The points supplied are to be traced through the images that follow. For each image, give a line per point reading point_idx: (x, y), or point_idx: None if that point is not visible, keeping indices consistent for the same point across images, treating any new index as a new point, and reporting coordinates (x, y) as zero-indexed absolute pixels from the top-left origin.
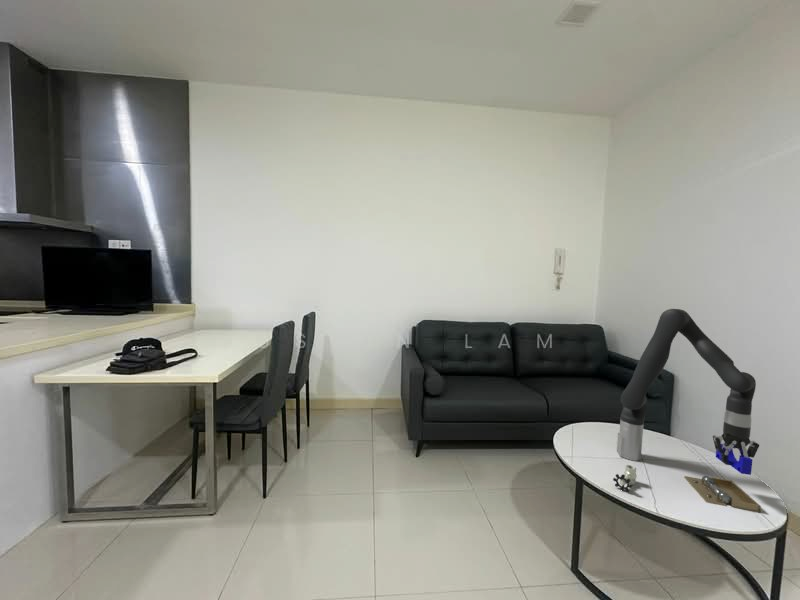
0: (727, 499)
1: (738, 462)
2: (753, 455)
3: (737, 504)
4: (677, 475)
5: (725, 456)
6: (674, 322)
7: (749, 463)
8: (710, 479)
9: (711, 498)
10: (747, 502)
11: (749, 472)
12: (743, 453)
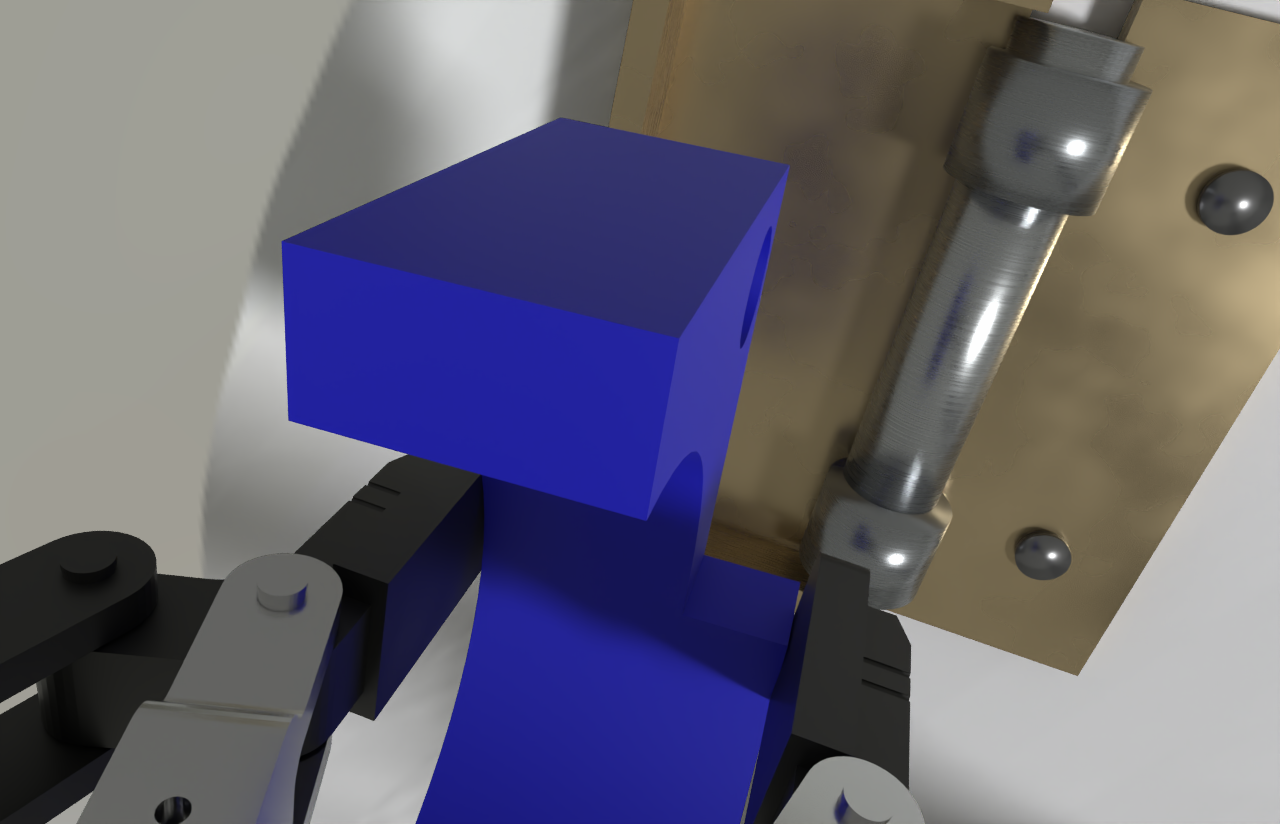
0: (1085, 37)
1: (704, 419)
2: (33, 577)
3: None
4: (1127, 705)
5: (847, 736)
6: None
7: (477, 210)
8: (886, 524)
9: (1269, 128)
10: (687, 98)
11: (574, 140)
12: (302, 697)
